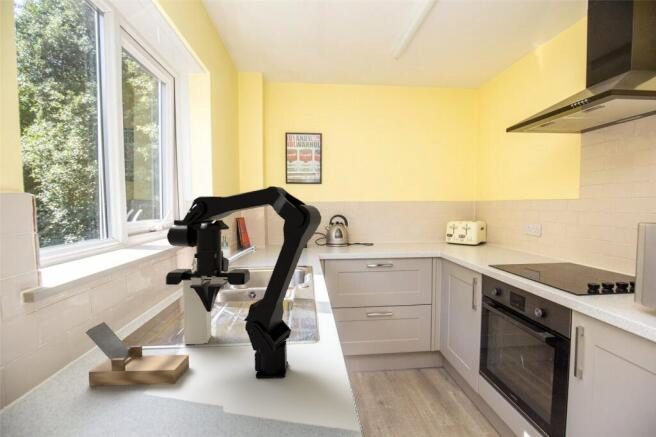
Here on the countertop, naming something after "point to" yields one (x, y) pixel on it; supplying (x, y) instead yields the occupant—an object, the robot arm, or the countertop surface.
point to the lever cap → (108, 342)
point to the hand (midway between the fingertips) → (209, 311)
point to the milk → (195, 316)
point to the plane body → (139, 369)
